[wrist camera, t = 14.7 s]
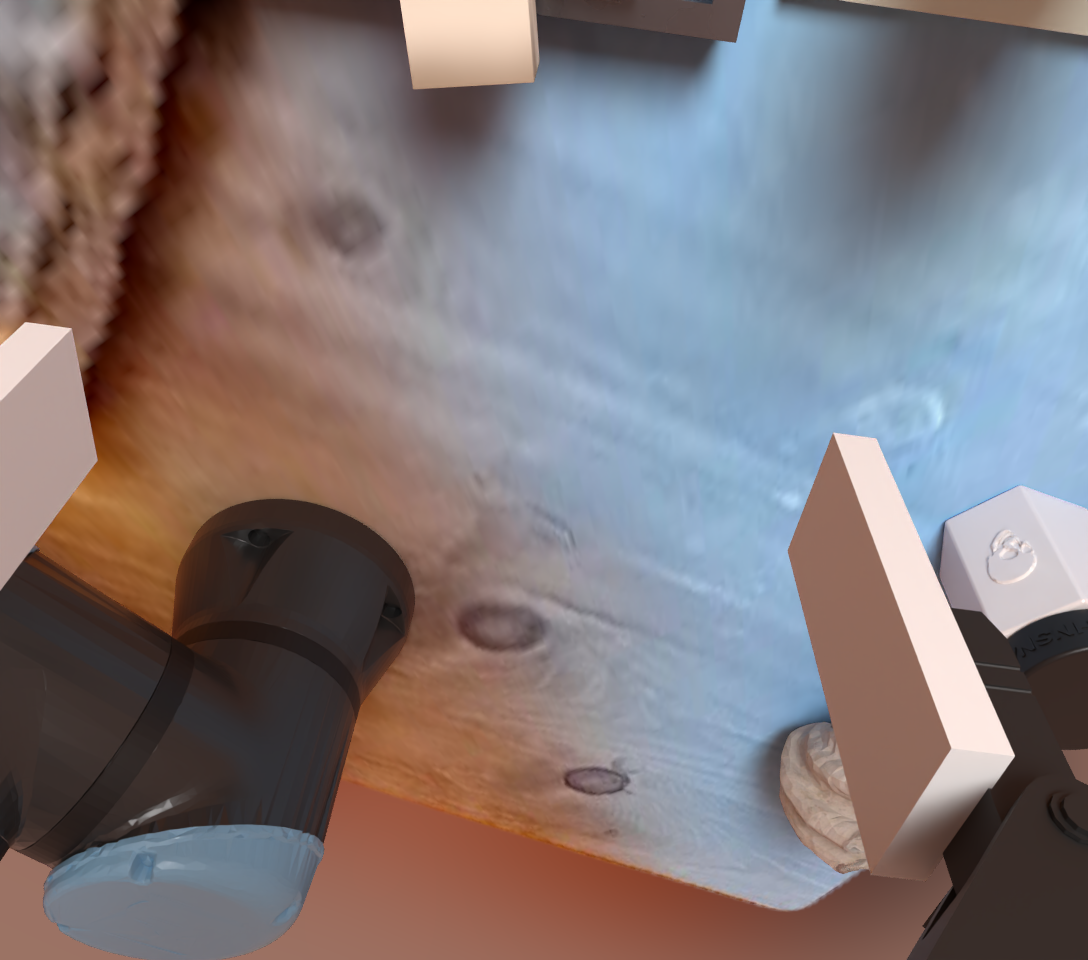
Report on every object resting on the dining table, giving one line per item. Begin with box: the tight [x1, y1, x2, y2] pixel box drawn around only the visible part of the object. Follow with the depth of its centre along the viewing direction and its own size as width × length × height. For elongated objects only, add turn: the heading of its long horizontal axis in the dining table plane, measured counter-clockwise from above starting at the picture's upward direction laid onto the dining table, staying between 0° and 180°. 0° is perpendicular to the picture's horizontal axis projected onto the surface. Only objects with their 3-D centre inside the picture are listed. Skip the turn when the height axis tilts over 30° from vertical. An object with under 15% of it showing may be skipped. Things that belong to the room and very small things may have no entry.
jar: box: [939, 485, 1088, 750], centre depth 50 cm, size 9×8×12 cm
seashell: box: [779, 722, 869, 874], centre depth 63 cm, size 10×15×10 cm
